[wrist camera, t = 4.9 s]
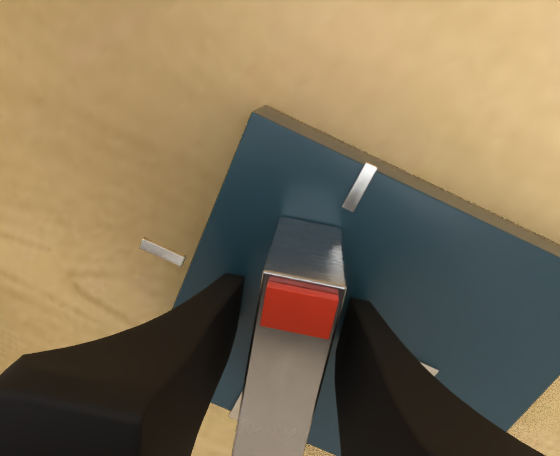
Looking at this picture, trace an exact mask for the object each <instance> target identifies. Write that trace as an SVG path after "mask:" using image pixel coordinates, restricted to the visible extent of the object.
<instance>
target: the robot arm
mask: <svg viewBox="0 0 560 456" xmlns="http://www.w3.org/2000/svg"><path fill="white" fill-rule="evenodd" d="M244 281H245V276H240V275H234V274H229V273H225V274H223V275H222V276H220V277H219V278H218V279H216V280H215V281H214V282H212V283H211V284H210V285H208V286H207V287H206V288H204V289H203V290H202V291H200V292H199V293H197V294H196V295H194V296H193V297H191V298H190V299H188V300H187V301H185V302H184V303H182V304H180V305H179V306H177V307H175V308H174V309H172V310H170V311H169V312H167V313H165V314H163V315H161V316H159V317H157V318H155V319H153V320H150V321H148V322H146V323H144V324H141V325H139V326H136V327H134V328H131V329H128V330H125V331H123V332H120V333H117V334H114V335H111V336H108V337H105V338H101V339H98V340H95V341H91V342H87V343H83V344H79V345H75V346H70V347H66V348H60V349H54V350H49V351H43V352H38V353H32V354H25V355H22V356H21V357H20V358H19V359H18V360H17V361H15V362H14V363H13V364H12V365H11V366H10V367H8V368H7V369H6V370H5V371H4V372H3V373H2V374H1V375H0V456H191V453H192V450H193V447H194V443H195V440H196V437H197V434H198V431H199V429H200V426H201V423H202V421H203V418H204V416H205V414H206V411H207V409H208V407H209V404H210V402H211V400H212V397H213V395H214V393H215V390H216V388H217V386H218V383H219V381H220V379H221V376H222V374H223V372H224V369H225V367H226V365H227V362H228V360H229V357H230V353H231V350H232V346H233V343H234V339H235V336H236V332H237V327H238V320H239V314H240V307H241V300H242V294H243V287H244ZM334 382H335V394H336V405H337V416H338V426H339V437H340V447H341V456H545V455H543V454H542V453H540V452H538V451H536V450H535V449H533V448H531V447H529V446H528V445H526V444H524V443H522V442H521V441H519V440H518V439H516V438H515V437H513V436H512V435H510V434H508V433H507V432H505V431H504V430H502V429H501V428H499V427H498V426H496V425H495V424H493V423H492V422H491V421H489V420H488V419H486V418H485V417H483V416H482V415H481V414H479V413H478V412H477V411H475V410H474V409H473V408H471V407H470V406H469V405H468V404H466V403H465V402H464V401H462V400H461V399H460V398H459V397H457V396H456V395H455V394H454V393H452V392H451V391H450V390H449V389H448V388H447V387H445V386H444V385H443V384H442V383H441V382H440V381H439V380H438V379H437V378H436V377H435V376H433V375H432V374H431V373H430V372H429V371H428V370H427V369H426V368H425V367H424V366H423V365H422V364H421V363H420V362H419V361H418V360H417V358H416V357H415V356H414V355H413V354H412V353H411V352H410V351H409V350H408V349H407V347H406V346H405V345H404V344H403V343H402V342H401V340H400V339H399V338H398V337H397V336H396V334H395V333H394V332H393V331H392V329H391V328H390V327H389V326H388V324H387V323H386V322H385V320H384V319H383V318H382V316H381V315H380V314H379V312H378V311H377V310H376V308H375V307H374V306H373V305H372V303H371V302H370V301H365V300H360V299H355V298H350V299H349V303H348V307H347V310H346V314H345V318H344V322H343V325H342V329H341V333H340V337H339V340H338V344H337V348H336V352H335V377H334Z"/></svg>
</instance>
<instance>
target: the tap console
mask: <svg viewBox="0 0 560 456" xmlns="http://www.w3.org/2000/svg"><path fill="white" fill-rule="evenodd" d="M280 217H287V218H292V219H297V220H302V221H307V222H313V223H318V224H323V225H328V226H333V227H339V228H341V235H342V245H343V254H344V264H345V273H346V283H347V291H346V295H345V299H344V302H343V306H342V310H341V314H340V318H339V322H338V325H337V329H336V333H335V337H334V341H333V344H332V348H331V352H330V356H329V360H328V363H327V367H326V371H325V375H324V379H323V382H322V386H321V390H320V394H319V398H318V401H317V405H316V409H315V413H314V417H313V421H312V424H311V428H310V432H309V436H308V440H307V443H308V444H310V445H312V446H315V447H317V448H319V449H322V450H324V451H327V452H329V453H331V454H334V455H336V456H341V447H340V437H339V426H338V416H337V405H336V394H335V382H334V377H335V352H336V348H337V344H338V340H339V337H340V333H341V329H342V325H343V322H344V318H345V314H346V310H347V307H348V303H349V299H350V298H355V299H360V300H365V301H370V302H371V303H372V305H373V306H374V307H375V308H376V310H377V311H378V312H379V314H380V315H381V316H382V318H383V319H384V320H385V322H386V323H387V324H388V326H389V327H390V328H391V329H392V331H393V332H394V333H395V334H396V336H397V337H398V338H399V339H400V340H401V342H402V343H403V344H404V345H405V346H406V347H407V349H408V350H409V351H410V352H411V353H412V354H413V355H414V356H415V357H416V358H417V360H418V361H419V362H420V363H421V364H422V365H423V366H424V367H425V368H426V369H427V370H428V371H429V372H430V373H431V374H432V375H433V376H435V377H436V378H437V379H438V380H439V381H440V382H441V383H442V384H443V385H444V386H445V387H447V388H448V389H449V390H450V391H451V392H452V393H454V394H455V395H456V396H457V397H459V398H460V399H461V400H462V401H464V402H465V403H466V404H468V405H469V406H470V407H471V408H473V409H474V410H475V411H477V412H478V413H479V414H481V415H482V416H483V417H485V418H486V419H488V420H489V421H491V422H492V423H493V424H495V425H496V426H498V427H499V428H501V429H502V430H504V431H505V432H507V431H508V430H509V429H510V428H511V427H512V425H513V424H514V423H515V422H516V421H517V420H518V419H519V418H520V417H521V416H522V415H523V414H524V413H525V412H526V411H527V410H528V408H529V407H530V406H531V405H532V404H533V403H534V402H535V401H536V400H537V399H538V398H539V397H540V396H541V395H542V394H543V393H544V391H545V390H546V389H547V388H548V387H549V386H550V385H551V384H552V383H553V382H554V381H555V380H556V379H557V378H558V377H559V375H560V245H559V244H556V243H554V242H552V241H550V240H548V239H546V238H544V237H542V236H540V235H538V234H535V233H533V232H531V231H529V230H527V229H525V228H523V227H521V226H519V225H517V224H514V223H512V222H510V221H508V220H506V219H504V218H502V217H500V216H498V215H496V214H493V213H491V212H489V211H487V210H485V209H483V208H481V207H479V206H477V205H475V204H472V203H470V202H468V201H466V200H464V199H462V198H460V197H458V196H456V195H453V194H451V193H449V192H447V191H445V190H443V189H441V188H439V187H437V186H435V185H432V184H430V183H428V182H426V181H424V180H422V179H420V178H418V177H416V176H414V175H411V174H409V173H407V172H405V171H403V170H401V169H399V168H397V167H395V166H393V165H390V164H388V163H386V162H384V161H382V160H380V159H378V158H376V157H374V156H372V155H369V154H367V153H365V152H363V151H361V150H359V149H357V148H355V147H353V146H350V145H348V144H346V143H344V142H342V141H340V140H338V139H336V138H334V137H332V136H329V135H327V134H325V133H323V132H321V131H319V130H317V129H315V128H313V127H311V126H308V125H306V124H304V123H302V122H300V121H298V120H296V119H294V118H292V117H290V116H287V115H285V114H283V113H281V112H279V111H277V110H275V109H273V108H271V107H269V106H266V105H264V106H263V107H261V108H259V109H257V110H255V111H253V112H252V113H251V115H250V117H249V120H248V122H247V125H246V127H245V130H244V132H243V135H242V137H241V140H240V142H239V145H238V147H237V150H236V152H235V155H234V157H233V160H232V162H231V164H230V167H229V169H228V172H227V174H226V177H225V179H224V182H223V184H222V187H221V189H220V192H219V194H218V197H217V199H216V202H215V204H214V207H213V209H212V212H211V214H210V216H209V219H208V221H207V224H206V226H205V229H204V231H203V234H202V236H201V239H200V241H199V244H198V246H197V249H196V251H195V254H194V256H193V259H192V261H191V264H190V266H189V268H188V271H187V273H186V276H185V278H184V281H183V283H182V286H181V288H180V291H179V293H178V296H177V298H176V301H175V303H174V306H173V308H172V309H174V308H175V307H177V306H179V305H180V304H182V303H184V302H185V301H187V300H188V299H190V298H191V297H193V296H194V295H196V294H197V293H199V292H200V291H202V290H203V289H204V288H206V287H207V286H208V285H210V284H211V283H212V282H214V281H215V280H216V279H218V278H219V277H220V276H222V275H223V274H225V273H229V274H234V275H240V276H245V281H244V287H243V294H242V300H241V307H240V314H239V320H238V327H237V332H236V336H235V339H234V343H233V346H232V350H231V353H230V357H229V360H228V362H227V365H226V367H225V369H224V372H223V374H222V376H221V379H220V381H219V383H218V386H217V388H216V390H215V393H214V395H213V397H212V400H211V403H213V404H216V405H218V406H220V407H223V408H225V409H227V410H230V413H229V417H230V418H233V419H235V420H238V414H239V408H240V402H241V397H242V391H243V385H244V379H245V373H246V367H247V361H248V355H249V349H250V343H251V337H252V332H253V326H254V320H255V314H256V308H257V302H258V296H259V290H260V284H261V278H262V272H263V269H264V266H265V263H266V259H267V256H268V253H269V250H270V246H271V243H272V240H273V237H274V234H275V230H276V227H277V224H278V221H279V218H280ZM139 248H140V249H142V250H145V251H147V252H149V253H151V254H154V255H156V256H158V257H160V258H163V259H165V260H167V261H169V262H172V263H174V264H176V265H178V266H182V265H183V263H184V260H185V258H186V255H184V254H182V253H179V252H177V251H175V250H173V249H170V248H168V247H166V246H164V245H161V244H159V243H157V242H155V241H152V240H150V239H148V238H146V237H144V238H143V239H142V242H141V245H140V247H139Z"/></svg>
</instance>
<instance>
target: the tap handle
mask: <svg viewBox="0 0 560 456" xmlns="http://www.w3.org/2000/svg"><path fill="white" fill-rule="evenodd" d="M346 291H347V283H346V273H345V264H344V254H343V245H342V235H341V228H339V227H333V226H328V225H323V224H318V223H313V222H307V221H302V220H297V219H292V218H287V217H280V218H279V221H278V224H277V227H276V230H275V234H274V237H273V240H272V243H271V246H270V250H269V253H268V256H267V259H266V263H265V266H264V269H263V272H262V278H261V284H260V290H259V296H258V302H257V308H256V314H255V320H254V326H253V332H252V337H251V343H250V349H249V355H248V361H247V367H246V373H245V379H244V385H243V391H242V397H241V402H240V408H239V414H238V420H237V426H236V432H235V438H234V444H233V450H232V456H303V455H304V451H305V447H306V443H307V440H308V436H309V432H310V428H311V424H312V421H313V417H314V413H315V409H316V405H317V401H318V398H319V394H320V390H321V386H322V382H323V379H324V375H325V371H326V367H327V363H328V360H329V356H330V352H331V348H332V344H333V341H334V337H335V333H336V329H337V325H338V322H339V318H340V314H341V310H342V306H343V302H344V299H345V295H346Z"/></svg>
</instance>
